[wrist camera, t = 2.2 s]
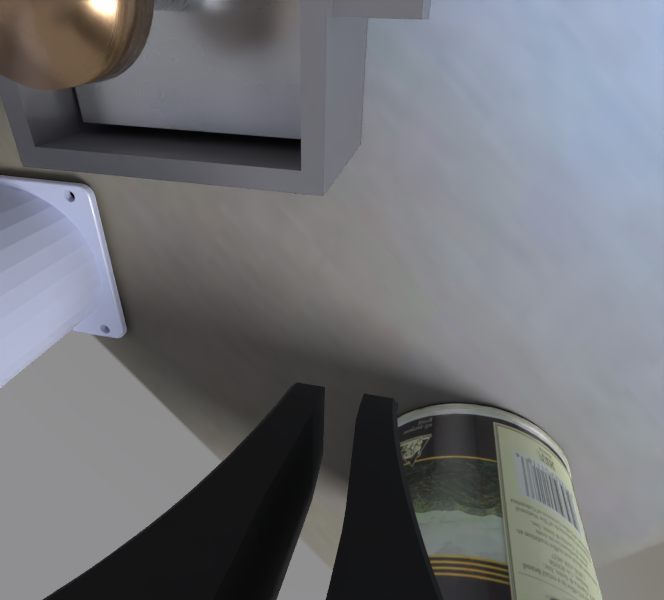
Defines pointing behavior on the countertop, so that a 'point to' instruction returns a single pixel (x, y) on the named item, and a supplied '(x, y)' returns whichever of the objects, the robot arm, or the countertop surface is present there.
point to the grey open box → (223, 148)
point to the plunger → (163, 61)
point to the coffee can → (495, 506)
